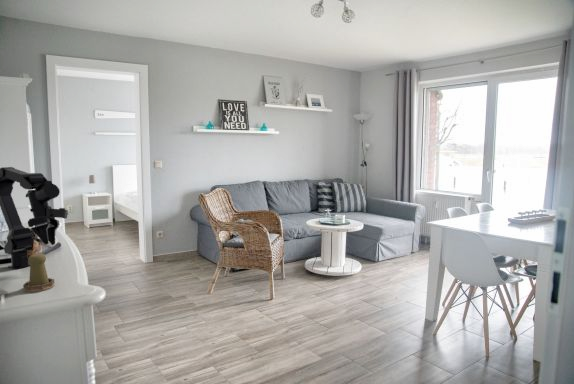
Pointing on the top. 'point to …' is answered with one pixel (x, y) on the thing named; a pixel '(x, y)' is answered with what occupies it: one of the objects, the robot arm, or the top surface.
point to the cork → (37, 270)
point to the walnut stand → (39, 286)
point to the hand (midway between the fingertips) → (50, 244)
